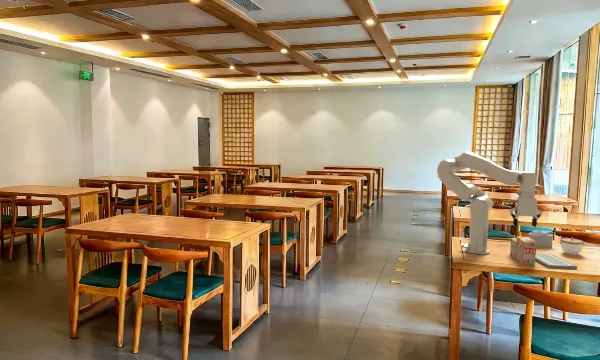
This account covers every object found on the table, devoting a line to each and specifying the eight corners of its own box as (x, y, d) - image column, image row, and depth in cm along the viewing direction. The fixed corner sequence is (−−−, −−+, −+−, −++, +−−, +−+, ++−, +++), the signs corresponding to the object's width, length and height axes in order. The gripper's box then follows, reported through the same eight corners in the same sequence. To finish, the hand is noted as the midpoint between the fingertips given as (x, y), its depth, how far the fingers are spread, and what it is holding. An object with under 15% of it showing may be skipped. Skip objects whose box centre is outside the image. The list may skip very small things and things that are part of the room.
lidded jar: (559, 250, 246) (561, 234, 245) (581, 252, 240) (582, 237, 240) (560, 254, 237) (561, 238, 236) (582, 257, 231) (584, 240, 230)
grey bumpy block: (554, 247, 252) (555, 233, 251) (533, 247, 251) (534, 233, 251) (543, 243, 263) (544, 229, 262) (523, 243, 262) (524, 229, 261)
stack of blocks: (509, 253, 236) (511, 232, 235) (521, 254, 235) (523, 233, 233) (522, 264, 215) (523, 241, 214) (535, 265, 214) (536, 242, 213)
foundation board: (548, 268, 209) (548, 265, 209) (525, 255, 233) (525, 252, 233) (577, 269, 209) (577, 266, 208) (550, 255, 232) (551, 253, 232)
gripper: (513, 195, 218) (511, 227, 220) (547, 195, 217) (544, 228, 219) (507, 193, 225) (505, 224, 227) (539, 194, 225) (537, 225, 226)
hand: (524, 226), depth 223 cm, fingers open, 9 cm apart
